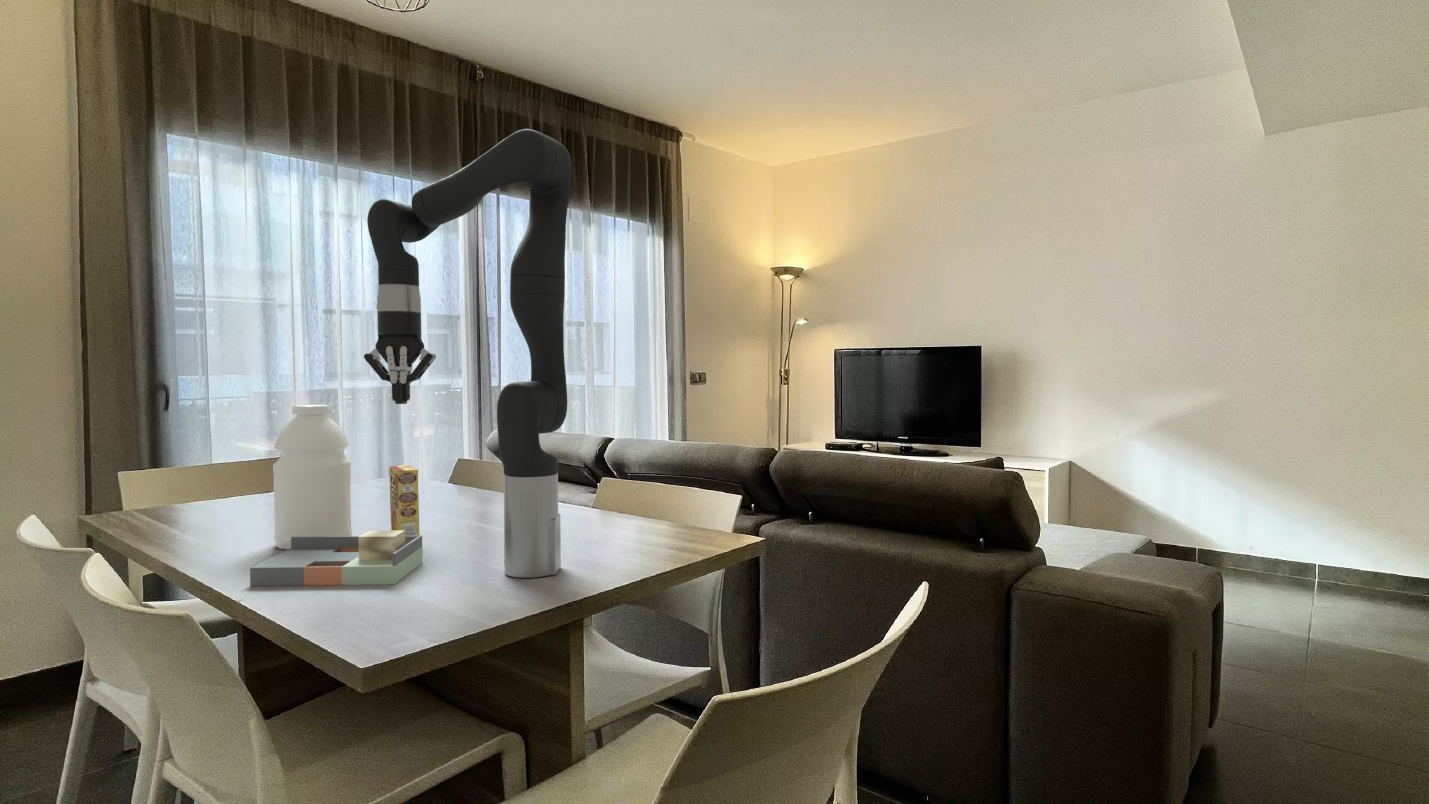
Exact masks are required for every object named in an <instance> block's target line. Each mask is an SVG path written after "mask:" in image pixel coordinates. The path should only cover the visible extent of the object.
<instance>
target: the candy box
mask: <svg viewBox="0 0 1429 804" xmlns="http://www.w3.org/2000/svg"><path fill="white" fill-rule="evenodd" d="M388 470H389V473H388V474H389V501H390V502H389V503H390V505H389V506H390V507H389V508H390V510H389V511H390V529H391V530H405V536H421V535H420V508H419V506H420V503H419V499H420V497H419V469H418V468H415V467H413V466H411V465H410V464H407V465H406V464H405V465H391V466H389V469H388Z"/></svg>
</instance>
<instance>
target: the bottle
mask: <svg viewBox="0 0 1429 804" xmlns="http://www.w3.org/2000/svg"><path fill="white" fill-rule="evenodd" d="M331 413H332V411H331V407H330V405H329V404H296V405H293V406H292V415H295V417H293V418H292V419H291V420H290V421H288V423H286V425H285V426H284V427H283V428H282V430H281V431H280V432H279V434H278V436H277V438H276V439H275V440H276V441H275V443H274V445H273V448H274V449H275V450H276V451H277V452H279V456H280V457H279V458H278V459H277V461H276V462H274V463H273V464H272V471H273V472H272V475H273V476H272V477H273V478H272V479H273V506H274V507H273V508H274V509H273V511H274V513H273V514H274V517H273V518H274V536H273V539H274V545H275V546H276V547H277V548H278V549H280V550H281V549H282V550H285V551H287V550H289V549H291V537H316V536H353V535H352V534H353V528H352V481H351V478H352V476H351V475H352V471H351V469H352V468H351V467H352V463H351V462H352V460H351V459H349V458H348V457H347V456H346V455H345V454H344V452H345V451H344V450H345V449H347V447H348V446H349V445H350V442H349V440H348V438H347V436H346V434H345V431H343V429H342V427H341V426H340V425H339V424H338V423H337V422H336V421H335V420H334V419H333V418H331V417H330V416H328V415H329V414H331Z"/></svg>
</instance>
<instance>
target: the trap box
mask: <svg viewBox="0 0 1429 804" xmlns="http://www.w3.org/2000/svg"><path fill="white" fill-rule="evenodd" d="M359 536H360V535H352V536H316V537H291V549H289V550H284V551H282V552H280V553H279V554H276V555H274V556H272V557H270V558H268V559H266V560H264V561H261V562H259V563H257V564H254V565H253V566H251V567H250V568H249V578H250V580H249V582H250V583H249V585H250V587H269V586H270V587H272V586H273V587H277V586H279V587H281V586H283V587H286V586H289V587H290V586H291V587H292V586H296V587H297V586H360V585H361V586H363V585H364V586H365V585H367V586H368V585H369V586H373V585H377V586H378V585H382V586H383V585H396V584H398V583H399V582H400V581H401V580H402V579H404V578H405V577H407V575H409V574H410V573H411V572H412V571H414V570H415V569H417V568H418V567H419V566H420V565H421V564H423V535H420V536H405V545H404V546H403V547H401V548H400V549H398V550H397V551H395V552H394V553H392V560H359Z"/></svg>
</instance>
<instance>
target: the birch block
mask: <svg viewBox="0 0 1429 804" xmlns="http://www.w3.org/2000/svg"><path fill="white" fill-rule="evenodd" d="M358 536H359V560H392V553H394V552H395V551H397V550H398V549H400V548H401V547H403V546H404V545H405V530H390V529H388V530H387V529H386V530H381V529H380V530H369V531H367V532H365V533H363V534H362V535H358Z"/></svg>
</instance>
